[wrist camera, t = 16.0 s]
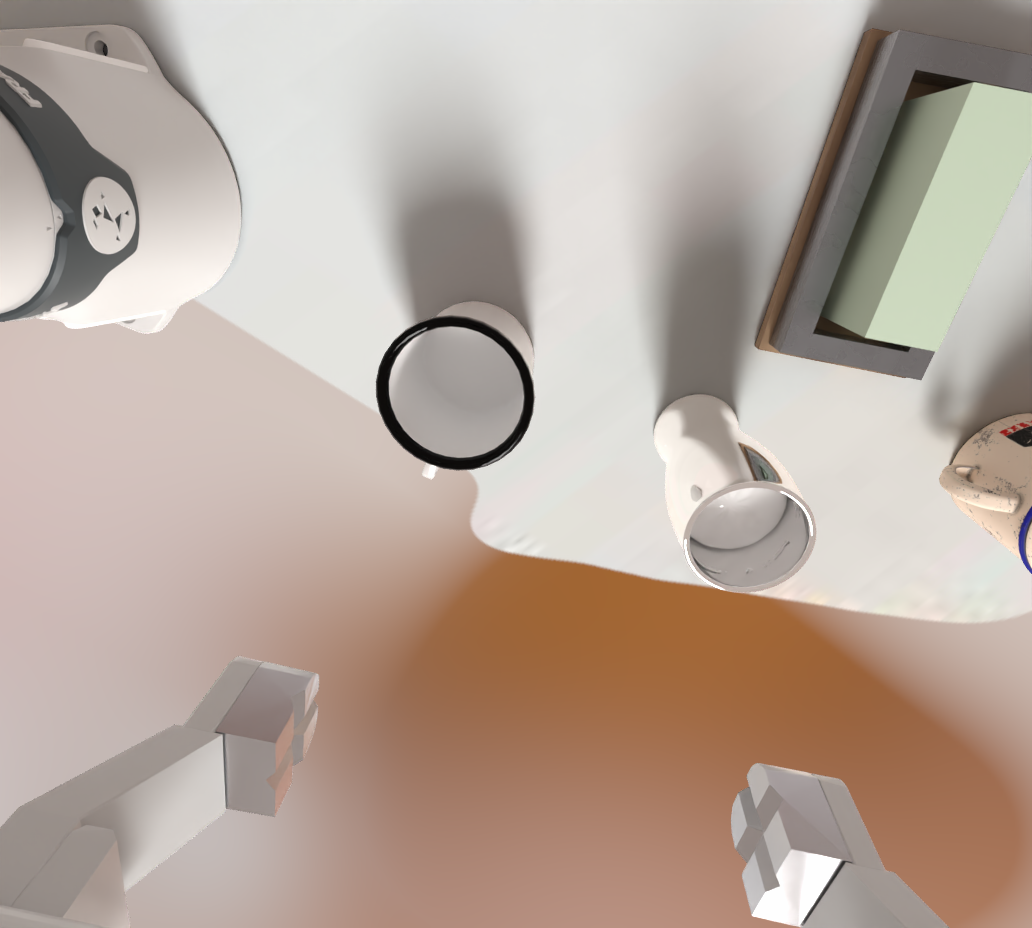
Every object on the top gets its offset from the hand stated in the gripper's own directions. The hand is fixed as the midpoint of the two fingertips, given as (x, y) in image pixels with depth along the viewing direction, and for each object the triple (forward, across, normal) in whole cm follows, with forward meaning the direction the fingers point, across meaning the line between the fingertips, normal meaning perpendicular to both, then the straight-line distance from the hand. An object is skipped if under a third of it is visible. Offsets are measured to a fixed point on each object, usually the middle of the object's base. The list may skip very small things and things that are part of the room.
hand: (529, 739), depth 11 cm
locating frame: (+34, -18, -11) cm, 40 cm away
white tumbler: (+34, -11, +5) cm, 36 cm away
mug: (+34, +6, +4) cm, 35 cm away
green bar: (+33, -18, -11) cm, 39 cm away
